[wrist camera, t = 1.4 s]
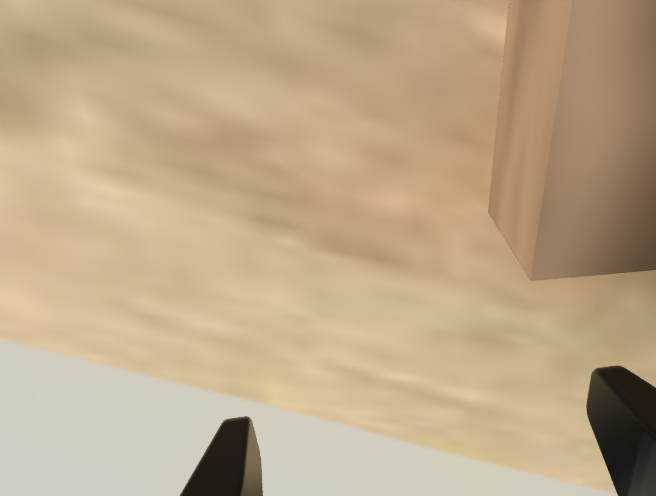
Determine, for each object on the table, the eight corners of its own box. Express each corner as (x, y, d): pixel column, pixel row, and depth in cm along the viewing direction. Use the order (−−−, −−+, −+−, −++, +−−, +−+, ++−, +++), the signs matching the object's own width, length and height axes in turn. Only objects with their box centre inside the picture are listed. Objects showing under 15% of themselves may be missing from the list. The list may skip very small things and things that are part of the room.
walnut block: (776, -52, 18) (909, -29, 14) (703, 191, 23) (791, 257, 19) (509, -34, 18) (572, -5, 14) (486, 208, 22) (530, 280, 18)
